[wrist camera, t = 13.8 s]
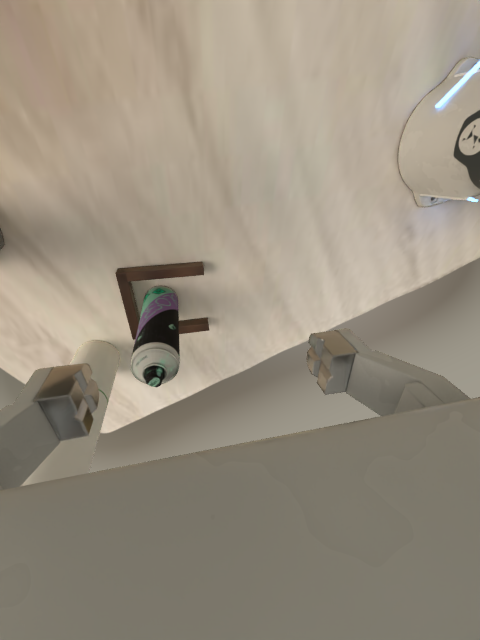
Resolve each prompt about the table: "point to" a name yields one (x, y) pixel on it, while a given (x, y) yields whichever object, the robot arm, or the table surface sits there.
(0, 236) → the coffeepot
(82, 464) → the cylindrical container
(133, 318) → the frame
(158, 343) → the spray can
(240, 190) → the table surface
